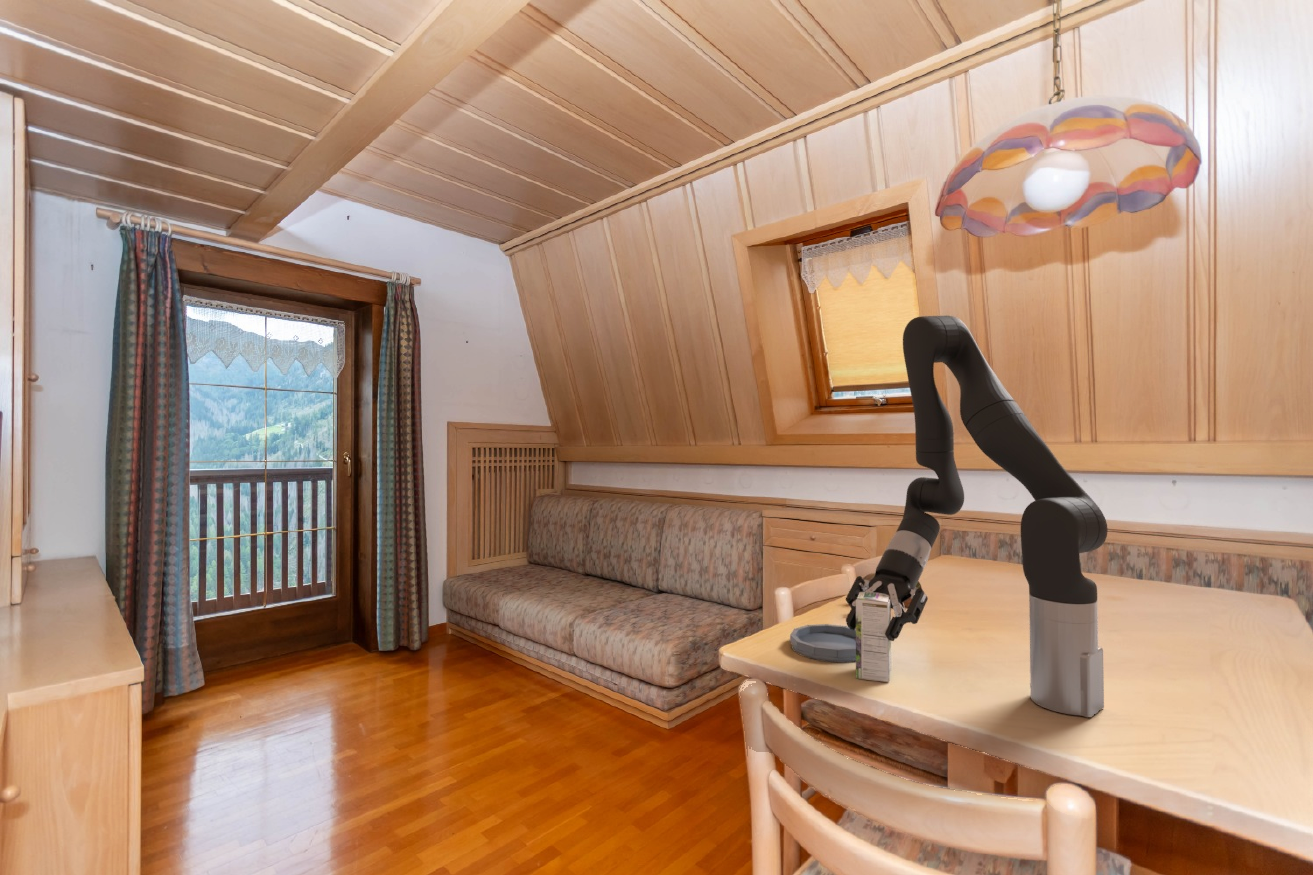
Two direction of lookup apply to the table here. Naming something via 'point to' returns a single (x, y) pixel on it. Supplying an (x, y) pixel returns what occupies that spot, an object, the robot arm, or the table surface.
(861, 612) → the juice carton
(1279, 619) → the table surface
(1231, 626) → the table surface
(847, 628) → the dish
